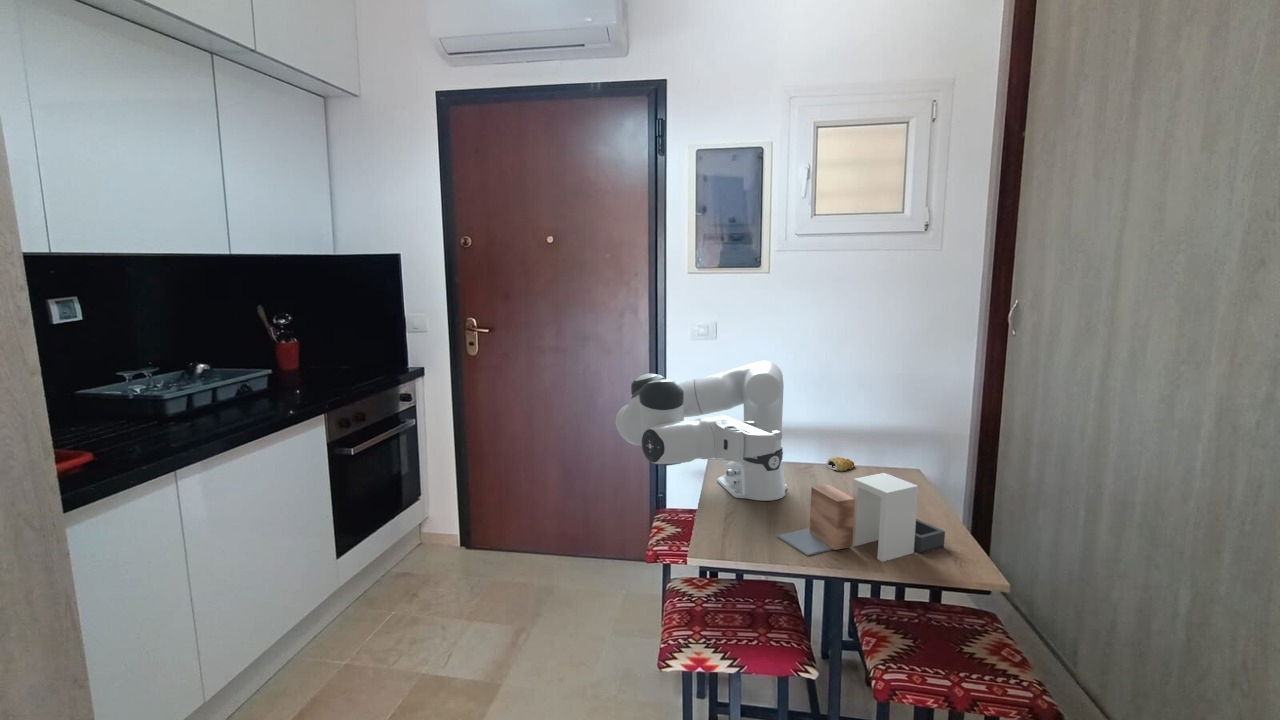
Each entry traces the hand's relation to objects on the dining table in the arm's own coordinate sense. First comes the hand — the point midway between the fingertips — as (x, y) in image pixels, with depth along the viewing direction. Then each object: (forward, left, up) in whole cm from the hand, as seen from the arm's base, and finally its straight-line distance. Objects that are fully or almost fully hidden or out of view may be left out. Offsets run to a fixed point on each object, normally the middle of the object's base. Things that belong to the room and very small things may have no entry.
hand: (766, 429), depth 135 cm
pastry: (-39, +61, -30) cm, 78 cm away
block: (+2, +19, -29) cm, 35 cm away
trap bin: (+10, +37, -30) cm, 49 cm away
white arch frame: (+10, +27, -30) cm, 42 cm away
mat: (0, +14, -30) cm, 33 cm away
